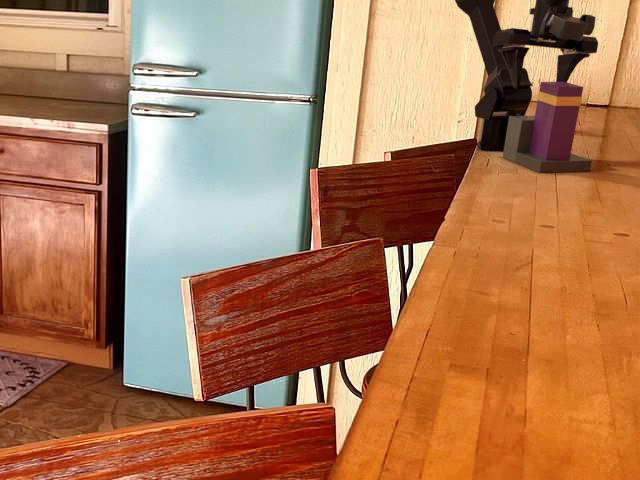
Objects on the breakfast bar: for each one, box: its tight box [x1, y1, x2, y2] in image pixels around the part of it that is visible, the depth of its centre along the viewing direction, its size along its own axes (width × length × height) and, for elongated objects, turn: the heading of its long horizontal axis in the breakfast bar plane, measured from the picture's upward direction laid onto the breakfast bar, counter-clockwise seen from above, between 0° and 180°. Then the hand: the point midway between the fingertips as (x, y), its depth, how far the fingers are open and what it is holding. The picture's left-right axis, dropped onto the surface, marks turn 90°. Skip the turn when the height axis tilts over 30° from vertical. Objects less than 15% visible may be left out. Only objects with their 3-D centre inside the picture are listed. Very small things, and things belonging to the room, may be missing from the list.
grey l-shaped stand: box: [502, 115, 593, 174], centre depth 168 cm, size 14×10×8 cm
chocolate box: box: [529, 81, 584, 160], centre depth 164 cm, size 5×8×13 cm, turn 3°
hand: (537, 90), depth 167 cm, fingers open, 9 cm apart
